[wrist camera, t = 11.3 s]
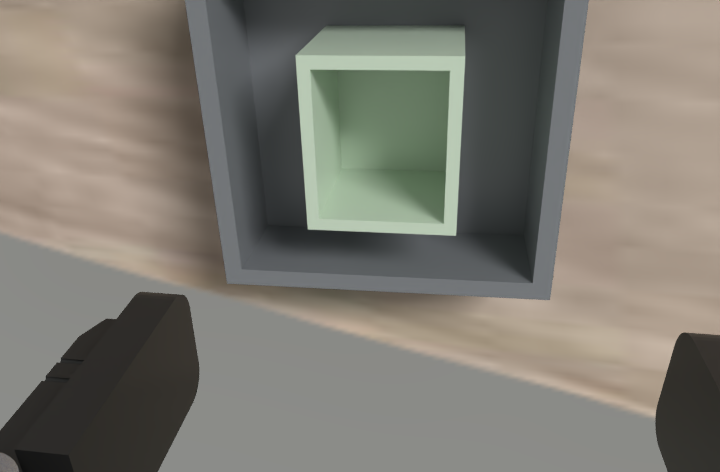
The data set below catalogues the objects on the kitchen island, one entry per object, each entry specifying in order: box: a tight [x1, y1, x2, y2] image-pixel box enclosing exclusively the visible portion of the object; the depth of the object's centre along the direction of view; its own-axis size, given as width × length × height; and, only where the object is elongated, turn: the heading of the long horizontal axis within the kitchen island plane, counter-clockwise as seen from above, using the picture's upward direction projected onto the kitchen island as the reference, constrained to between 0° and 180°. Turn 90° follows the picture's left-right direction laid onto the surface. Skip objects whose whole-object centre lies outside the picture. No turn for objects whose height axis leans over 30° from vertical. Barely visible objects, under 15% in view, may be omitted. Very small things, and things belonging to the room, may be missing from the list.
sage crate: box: [295, 25, 465, 236], centre depth 27 cm, size 6×7×6 cm
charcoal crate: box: [185, 0, 589, 300], centre depth 28 cm, size 15×15×6 cm
